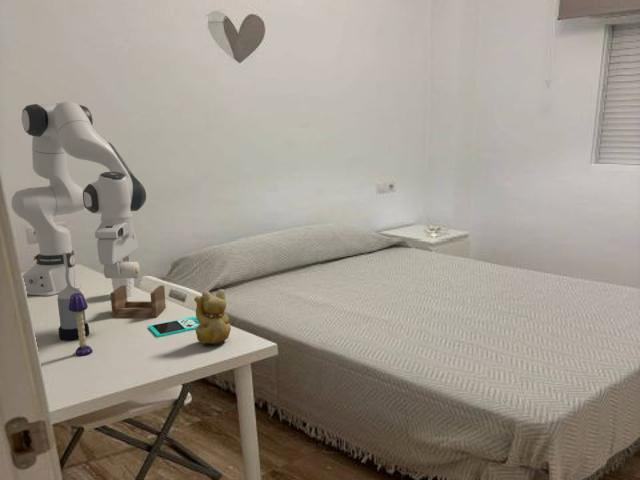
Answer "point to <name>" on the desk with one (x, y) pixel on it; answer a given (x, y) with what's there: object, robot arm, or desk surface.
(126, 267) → the roll
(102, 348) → the desk surface
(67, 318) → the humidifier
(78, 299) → the toy lamp
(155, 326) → the handheld game console
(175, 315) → the desk surface
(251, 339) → the desk surface
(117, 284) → the white cup
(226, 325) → the decorative figurine
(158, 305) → the holder
